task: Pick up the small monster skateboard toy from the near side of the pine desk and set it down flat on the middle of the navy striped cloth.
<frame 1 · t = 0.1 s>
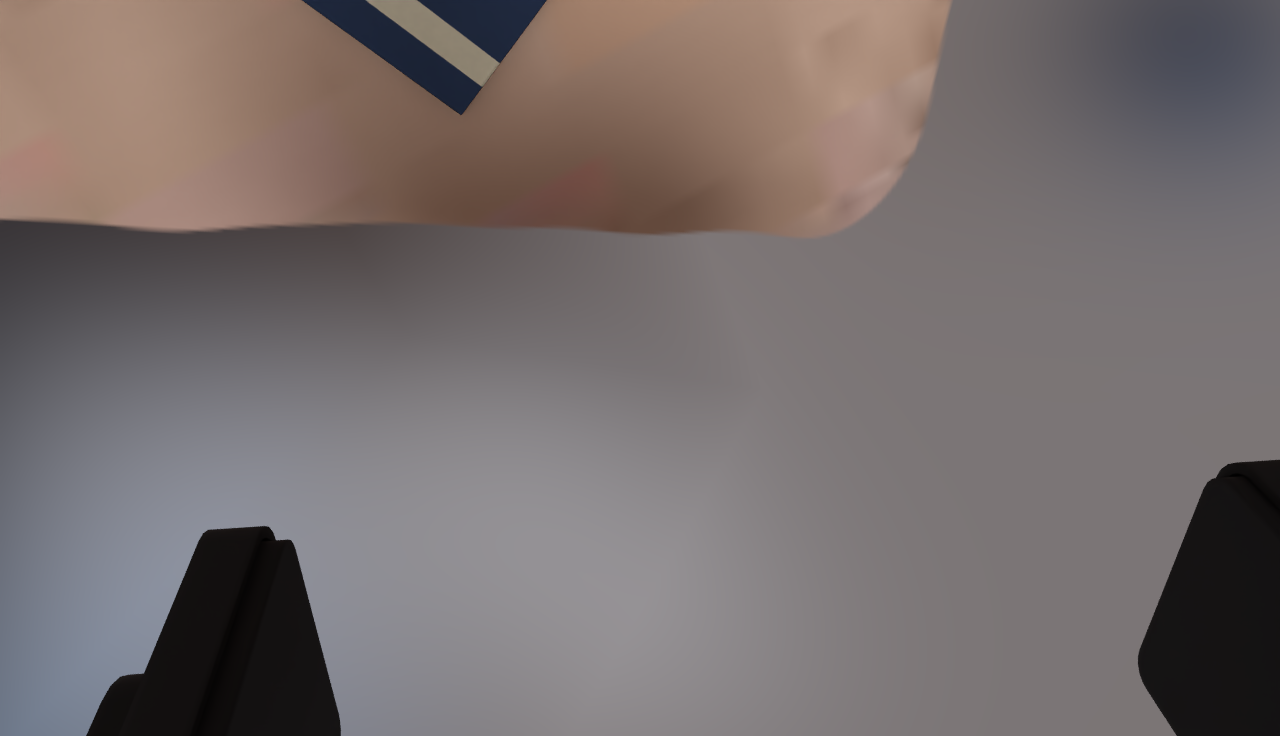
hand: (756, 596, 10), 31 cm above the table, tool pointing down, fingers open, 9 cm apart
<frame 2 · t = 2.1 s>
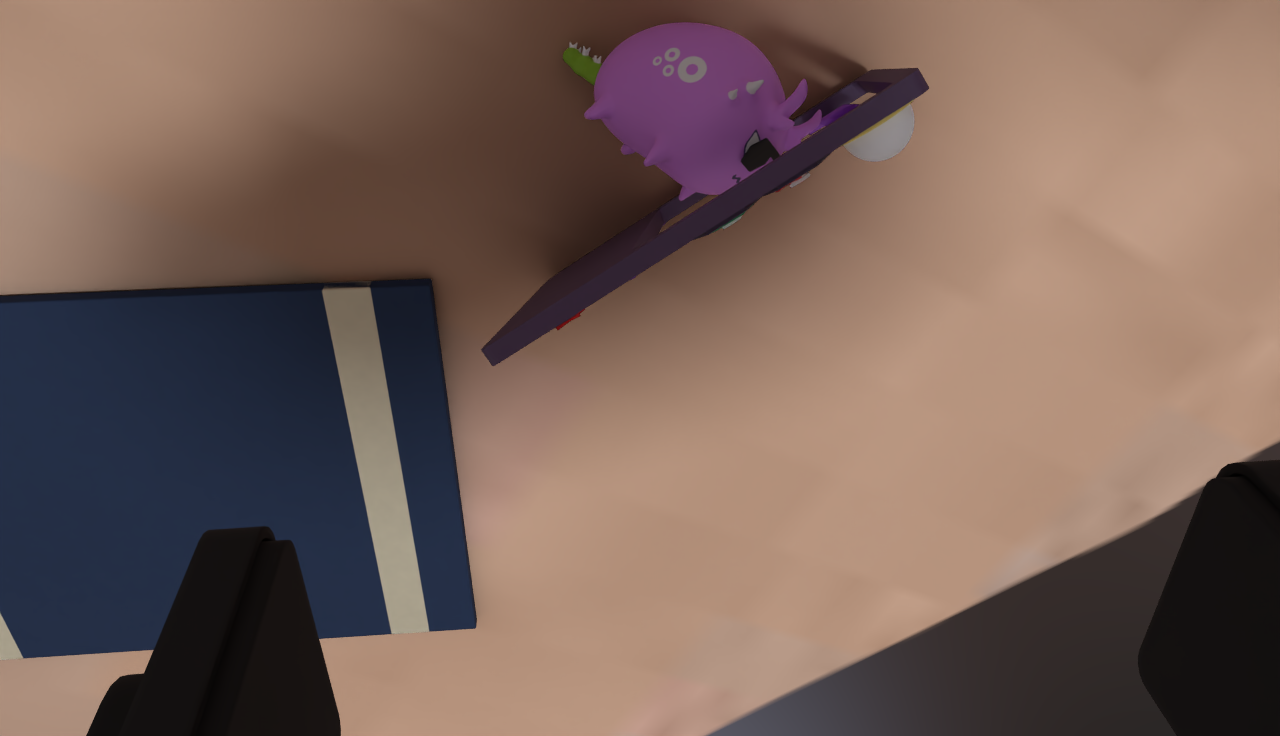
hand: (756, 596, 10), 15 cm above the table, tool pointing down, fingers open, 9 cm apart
monster skateboard toy: (655, 108, 22), on the table
cloth: (161, 485, 27), on the table
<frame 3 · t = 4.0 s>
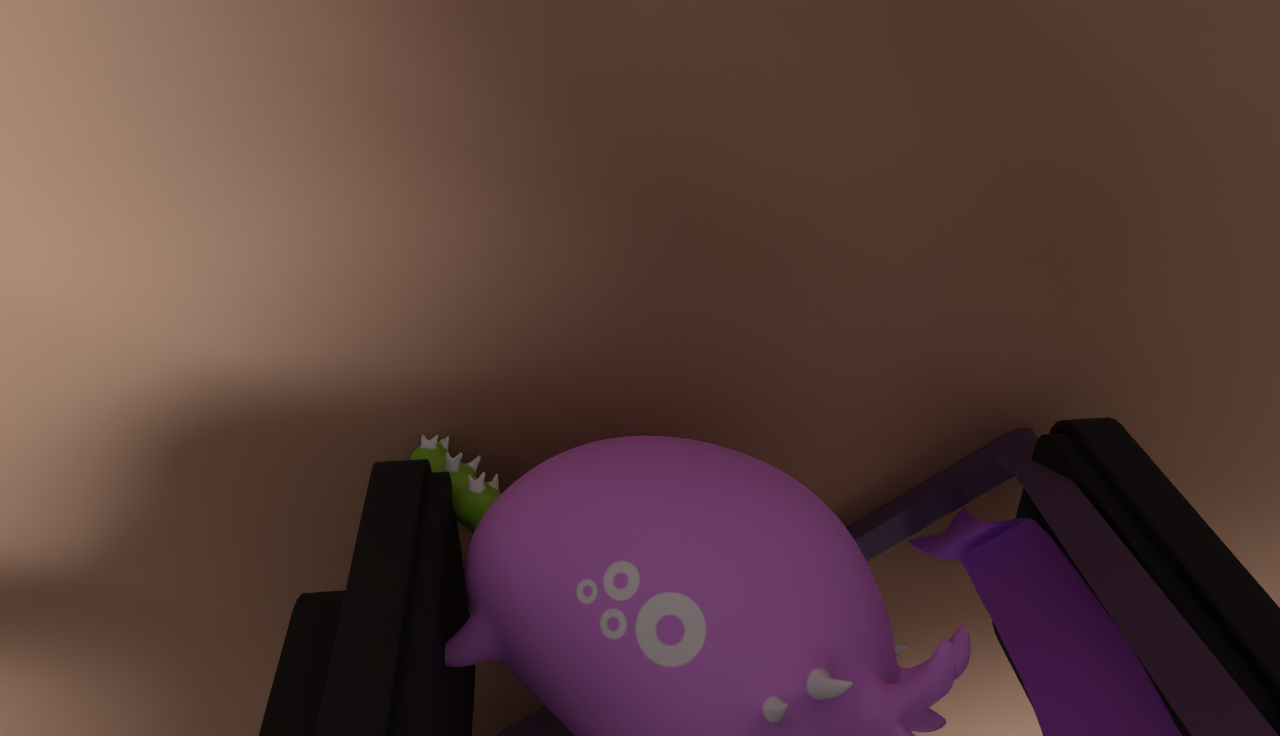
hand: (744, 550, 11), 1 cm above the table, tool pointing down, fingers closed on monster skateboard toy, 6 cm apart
monster skateboard toy: (609, 508, 12), on the table, touching gripper
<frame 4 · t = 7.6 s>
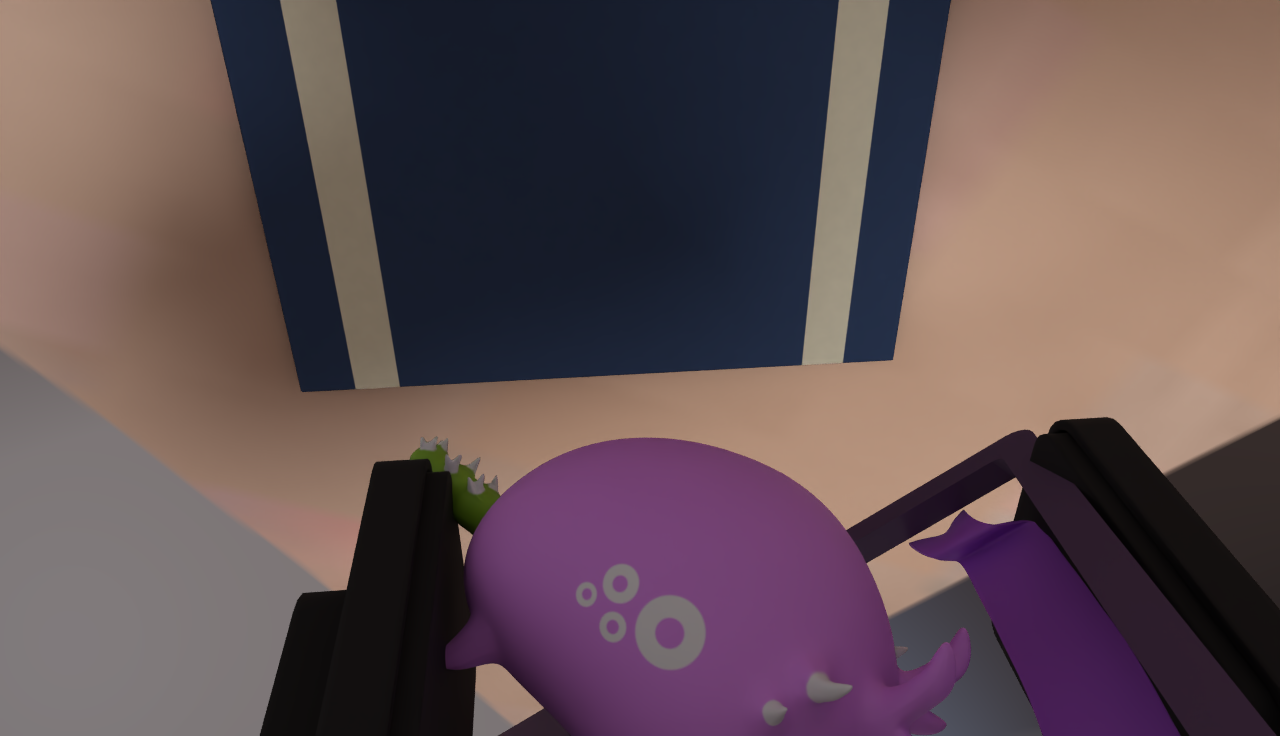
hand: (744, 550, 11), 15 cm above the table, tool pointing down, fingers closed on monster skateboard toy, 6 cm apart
monster skateboard toy: (609, 510, 12), point 14 cm above the table, touching gripper
cloth: (596, 158, 23), on the table
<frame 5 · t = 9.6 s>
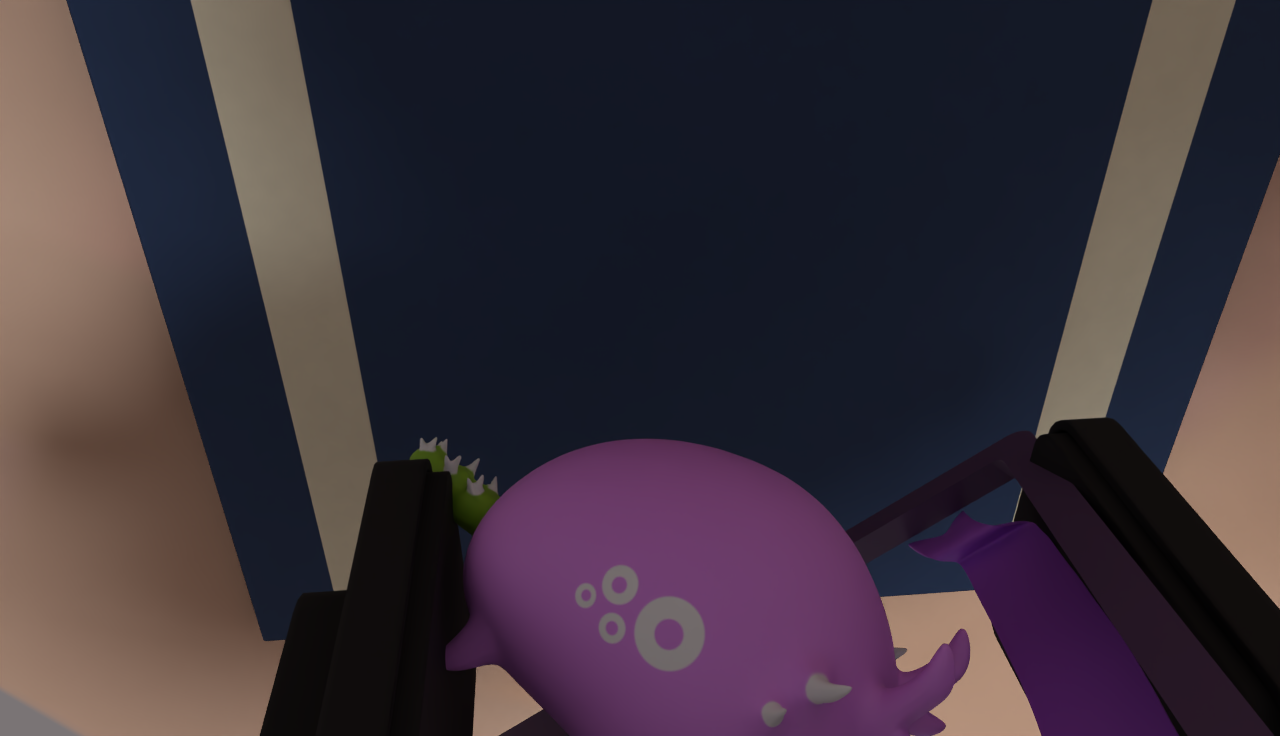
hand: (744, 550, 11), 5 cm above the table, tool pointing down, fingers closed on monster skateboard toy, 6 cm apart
monster skateboard toy: (608, 511, 12), point 4 cm above the table, touching gripper
cloth: (717, 316, 15), on the table
when the fingers open (1 cm above the table, at t = 11.1 s): monster skateboard toy stays where it is, resting on cloth.
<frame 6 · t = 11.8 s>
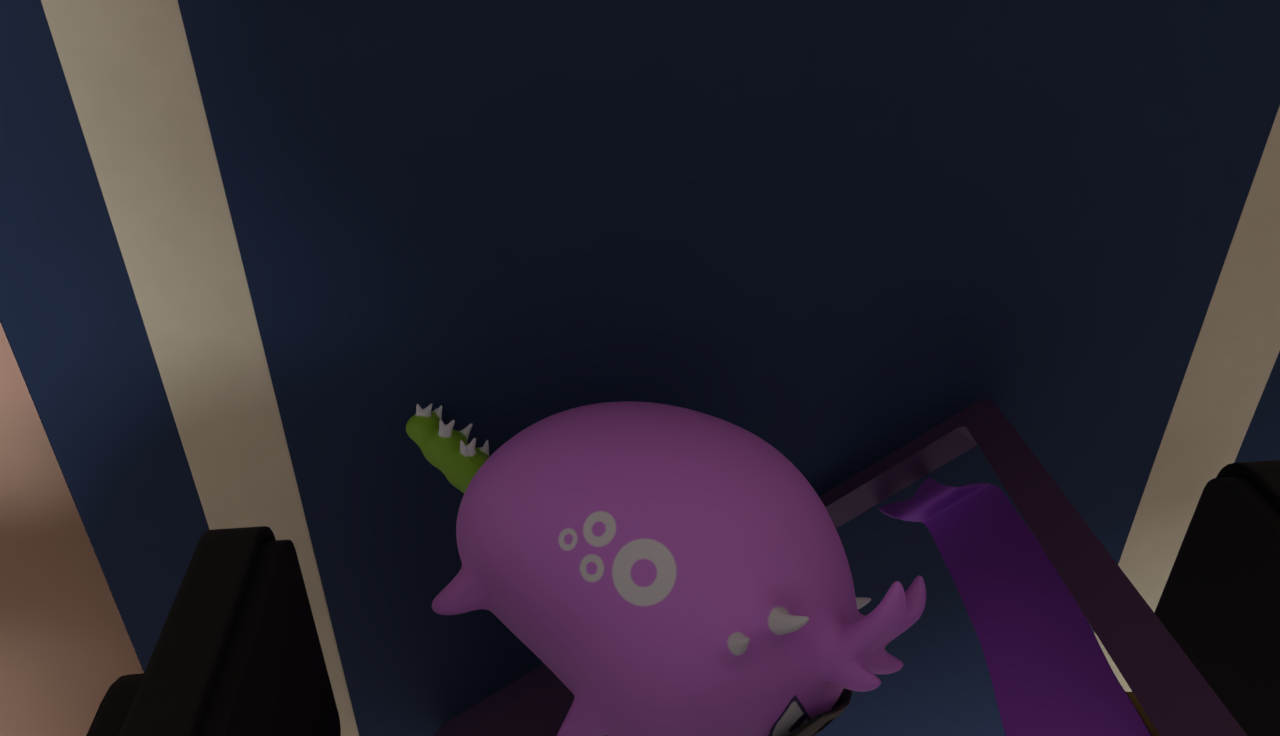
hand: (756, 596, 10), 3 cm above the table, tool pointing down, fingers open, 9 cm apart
monster skateboard toy: (595, 477, 12), resting on cloth
cloth: (740, 448, 12), on the table
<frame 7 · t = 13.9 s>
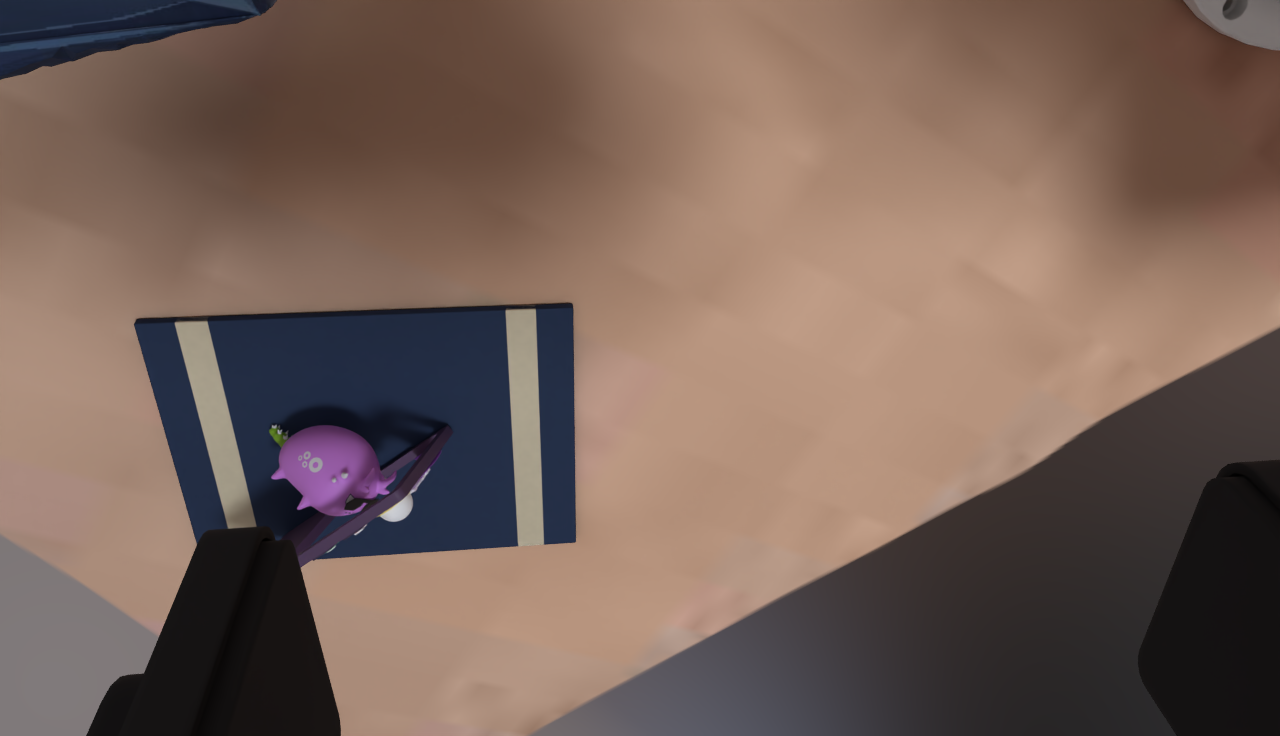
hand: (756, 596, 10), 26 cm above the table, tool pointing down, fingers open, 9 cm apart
monster skateboard toy: (331, 447, 40), resting on cloth
cloth: (378, 439, 40), on the table
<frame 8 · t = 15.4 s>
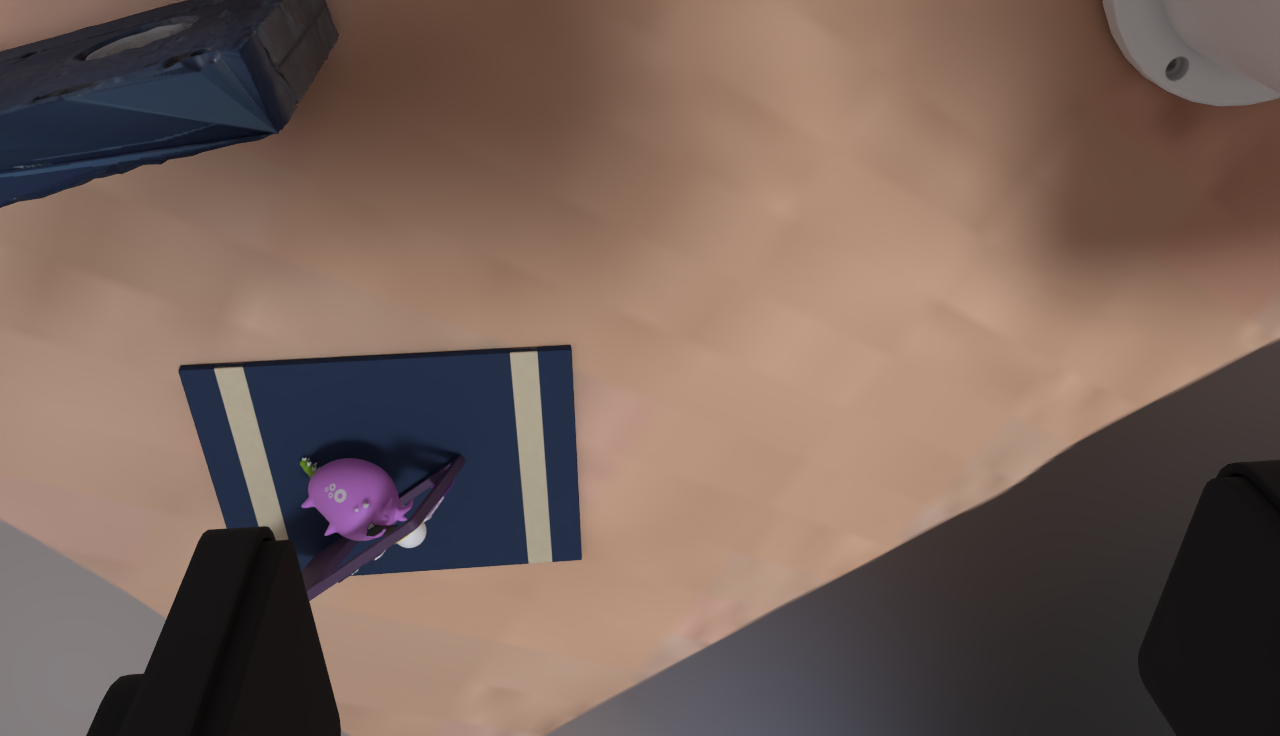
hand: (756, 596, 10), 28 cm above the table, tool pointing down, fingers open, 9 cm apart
monster skateboard toy: (355, 476, 44), resting on cloth
vhs cassette tape: (77, 69, 34), on the table
cloth: (398, 468, 44), on the table
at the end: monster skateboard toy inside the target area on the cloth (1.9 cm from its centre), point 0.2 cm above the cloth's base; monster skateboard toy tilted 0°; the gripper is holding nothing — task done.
